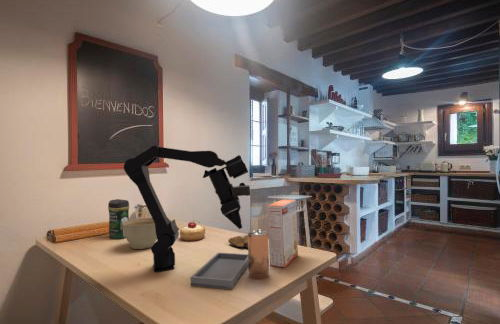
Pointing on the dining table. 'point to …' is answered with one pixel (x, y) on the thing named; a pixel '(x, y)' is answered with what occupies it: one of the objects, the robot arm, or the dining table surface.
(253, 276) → the copper cylinder
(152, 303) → the dining table surface
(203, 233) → the pastry
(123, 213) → the coffee jar
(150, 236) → the planter bowl
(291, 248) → the cracker box
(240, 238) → the decorative rock
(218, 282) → the gray tray
